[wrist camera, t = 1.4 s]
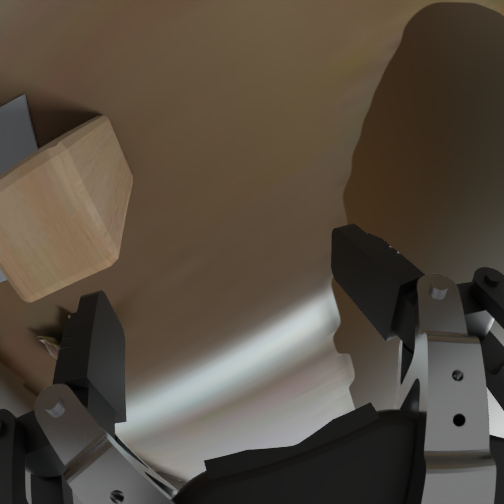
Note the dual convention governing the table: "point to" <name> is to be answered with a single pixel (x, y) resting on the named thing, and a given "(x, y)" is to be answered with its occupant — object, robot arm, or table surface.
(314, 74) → the table surface
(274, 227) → the table surface
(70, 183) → the wooden block
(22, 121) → the mat
